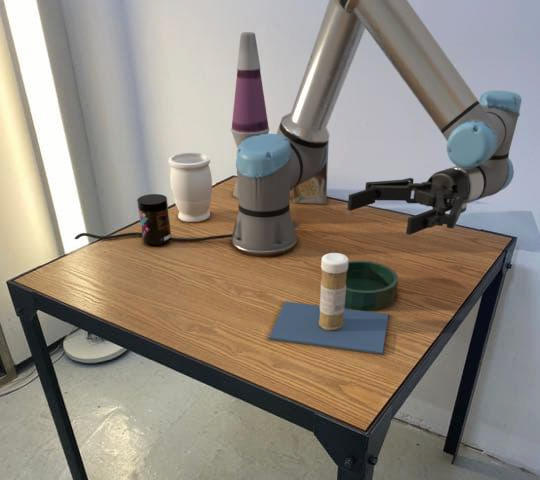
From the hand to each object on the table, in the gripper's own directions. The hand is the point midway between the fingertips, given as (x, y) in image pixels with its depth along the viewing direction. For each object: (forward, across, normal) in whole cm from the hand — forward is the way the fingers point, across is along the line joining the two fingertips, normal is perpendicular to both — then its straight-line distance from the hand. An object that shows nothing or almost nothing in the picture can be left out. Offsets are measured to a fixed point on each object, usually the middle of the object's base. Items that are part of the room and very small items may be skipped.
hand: (377, 214), depth 98 cm
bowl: (-4, +5, -19) cm, 20 cm away
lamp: (-22, +65, -20) cm, 72 cm away
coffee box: (-32, +51, -20) cm, 63 cm away
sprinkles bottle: (+10, 0, -19) cm, 21 cm away
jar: (0, +61, -20) cm, 64 cm away
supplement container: (+15, +53, -20) cm, 59 cm away
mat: (+10, 0, -19) cm, 22 cm away
